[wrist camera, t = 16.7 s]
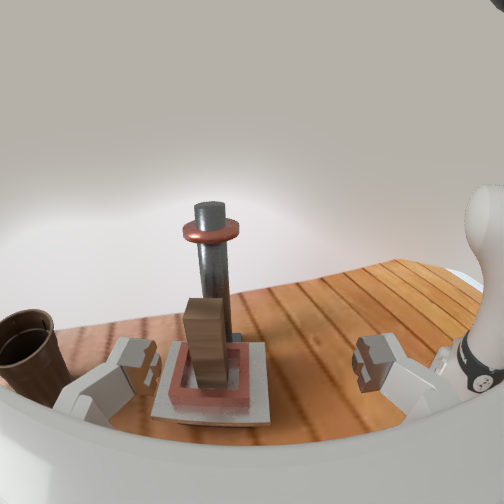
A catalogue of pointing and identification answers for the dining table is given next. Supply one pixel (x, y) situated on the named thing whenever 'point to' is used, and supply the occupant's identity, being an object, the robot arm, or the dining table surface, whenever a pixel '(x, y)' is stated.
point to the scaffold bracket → (239, 354)
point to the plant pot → (32, 357)
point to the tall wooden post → (207, 341)
